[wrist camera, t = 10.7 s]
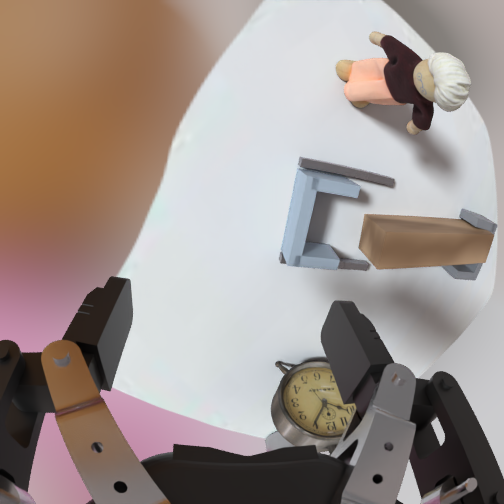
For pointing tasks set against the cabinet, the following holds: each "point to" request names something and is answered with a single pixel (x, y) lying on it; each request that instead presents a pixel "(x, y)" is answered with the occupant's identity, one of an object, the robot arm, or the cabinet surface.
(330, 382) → the alarm clock
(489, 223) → the grey u-shaped handle
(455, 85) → the grandmother figurine
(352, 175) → the track
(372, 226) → the brown wooden bar
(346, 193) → the cap
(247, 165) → the cabinet surface
